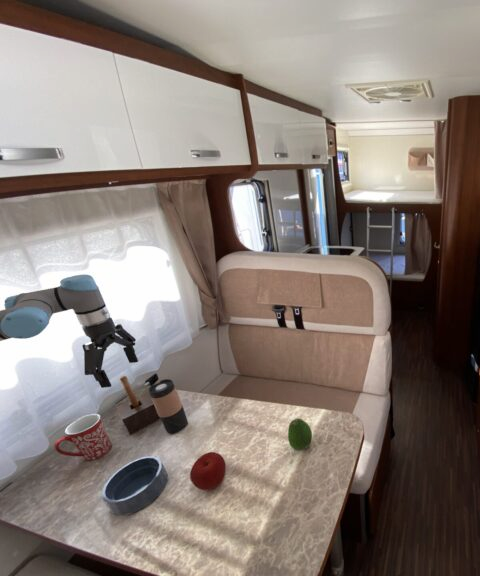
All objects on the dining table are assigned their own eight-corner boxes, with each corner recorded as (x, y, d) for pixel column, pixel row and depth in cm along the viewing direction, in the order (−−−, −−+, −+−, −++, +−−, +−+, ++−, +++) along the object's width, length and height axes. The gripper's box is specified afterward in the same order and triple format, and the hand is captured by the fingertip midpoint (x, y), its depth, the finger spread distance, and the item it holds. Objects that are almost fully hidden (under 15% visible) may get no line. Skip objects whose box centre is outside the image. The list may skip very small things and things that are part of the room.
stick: (140, 423, 120) (119, 378, 111) (139, 420, 121) (118, 376, 112) (146, 420, 121) (126, 375, 113) (145, 417, 122) (125, 373, 114)
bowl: (115, 528, 84) (106, 514, 82) (106, 494, 93) (97, 480, 91) (174, 488, 94) (168, 474, 92) (161, 461, 103) (154, 447, 101)
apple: (194, 503, 90) (184, 481, 86) (197, 476, 98) (188, 454, 94) (229, 489, 93) (221, 467, 89) (229, 463, 101) (222, 442, 97)
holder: (130, 435, 114) (122, 419, 111) (124, 421, 121) (116, 406, 118) (161, 418, 121) (155, 403, 118) (154, 406, 128) (148, 391, 125)
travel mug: (183, 432, 114) (166, 391, 106) (161, 436, 113) (143, 394, 105) (192, 417, 121) (176, 377, 113) (171, 420, 120) (154, 380, 112)
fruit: (316, 450, 105) (311, 424, 100) (293, 460, 102) (287, 434, 97) (310, 433, 111) (306, 408, 107) (289, 442, 108) (283, 417, 104)
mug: (112, 436, 114) (97, 409, 109) (117, 449, 109) (102, 421, 103) (66, 460, 105) (48, 432, 100) (69, 476, 100) (50, 447, 95)
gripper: (76, 340, 87) (105, 397, 95) (134, 303, 110) (153, 352, 118) (48, 343, 87) (80, 400, 95) (112, 305, 110) (133, 354, 118)
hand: (121, 373), depth 107 cm, fingers open, 13 cm apart
